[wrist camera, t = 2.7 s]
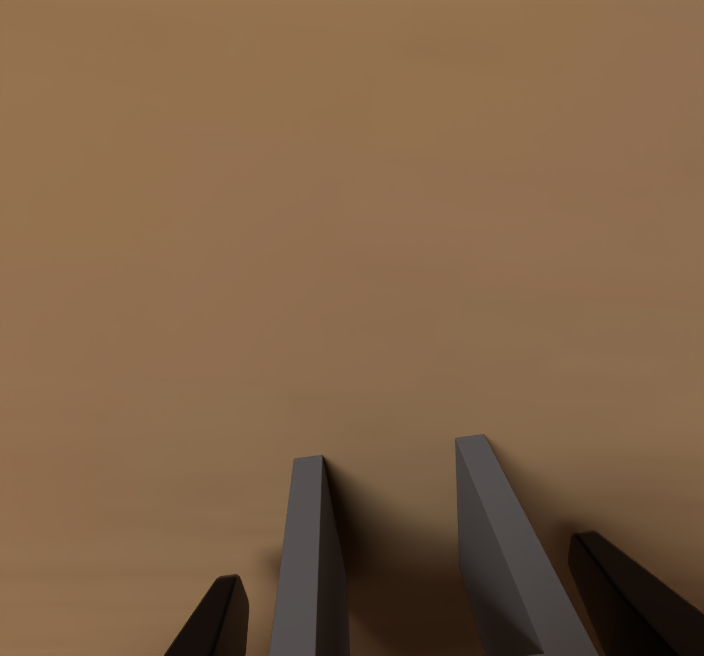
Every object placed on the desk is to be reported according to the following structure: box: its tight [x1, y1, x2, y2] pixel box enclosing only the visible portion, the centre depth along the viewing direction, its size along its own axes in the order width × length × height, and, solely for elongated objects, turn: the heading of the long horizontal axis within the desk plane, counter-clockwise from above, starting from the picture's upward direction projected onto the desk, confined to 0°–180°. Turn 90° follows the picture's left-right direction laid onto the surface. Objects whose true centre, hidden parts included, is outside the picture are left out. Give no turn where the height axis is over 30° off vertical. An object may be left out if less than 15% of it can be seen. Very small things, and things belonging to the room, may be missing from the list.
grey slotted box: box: [269, 434, 599, 656], centre depth 7 cm, size 4×4×5 cm
